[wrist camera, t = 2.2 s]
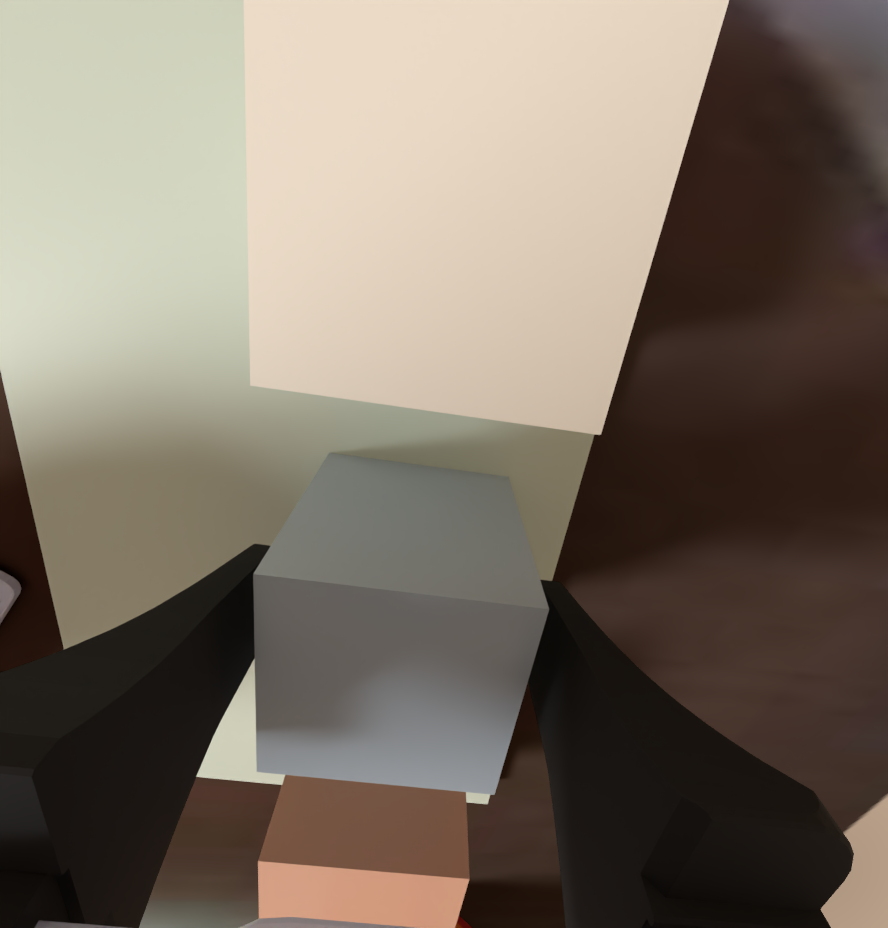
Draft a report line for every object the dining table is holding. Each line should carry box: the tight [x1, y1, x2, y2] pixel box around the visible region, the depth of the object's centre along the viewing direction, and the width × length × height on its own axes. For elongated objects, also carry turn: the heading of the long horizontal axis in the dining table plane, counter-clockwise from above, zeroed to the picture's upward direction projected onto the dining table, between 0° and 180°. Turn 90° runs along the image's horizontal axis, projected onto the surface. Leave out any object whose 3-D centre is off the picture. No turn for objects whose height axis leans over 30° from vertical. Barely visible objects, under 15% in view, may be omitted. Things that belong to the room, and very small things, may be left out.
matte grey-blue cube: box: [253, 453, 549, 795], centre depth 12 cm, size 6×6×6 cm
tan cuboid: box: [244, 0, 729, 435], centre depth 9 cm, size 6×6×6 cm
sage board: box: [0, 0, 594, 804], centre depth 15 cm, size 26×17×1 cm, turn 172°
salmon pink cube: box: [258, 775, 469, 928], centre depth 16 cm, size 6×6×6 cm
